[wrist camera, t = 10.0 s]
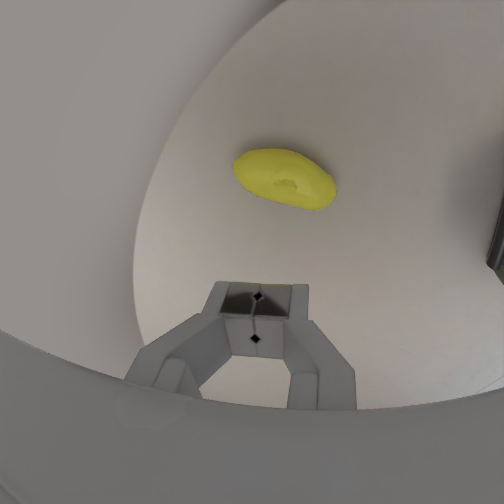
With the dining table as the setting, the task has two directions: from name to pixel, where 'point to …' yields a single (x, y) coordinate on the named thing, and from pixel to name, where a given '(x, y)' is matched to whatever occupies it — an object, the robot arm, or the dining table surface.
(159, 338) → the robot arm
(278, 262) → the dining table surface
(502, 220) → the drawer
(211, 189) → the dining table surface
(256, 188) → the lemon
